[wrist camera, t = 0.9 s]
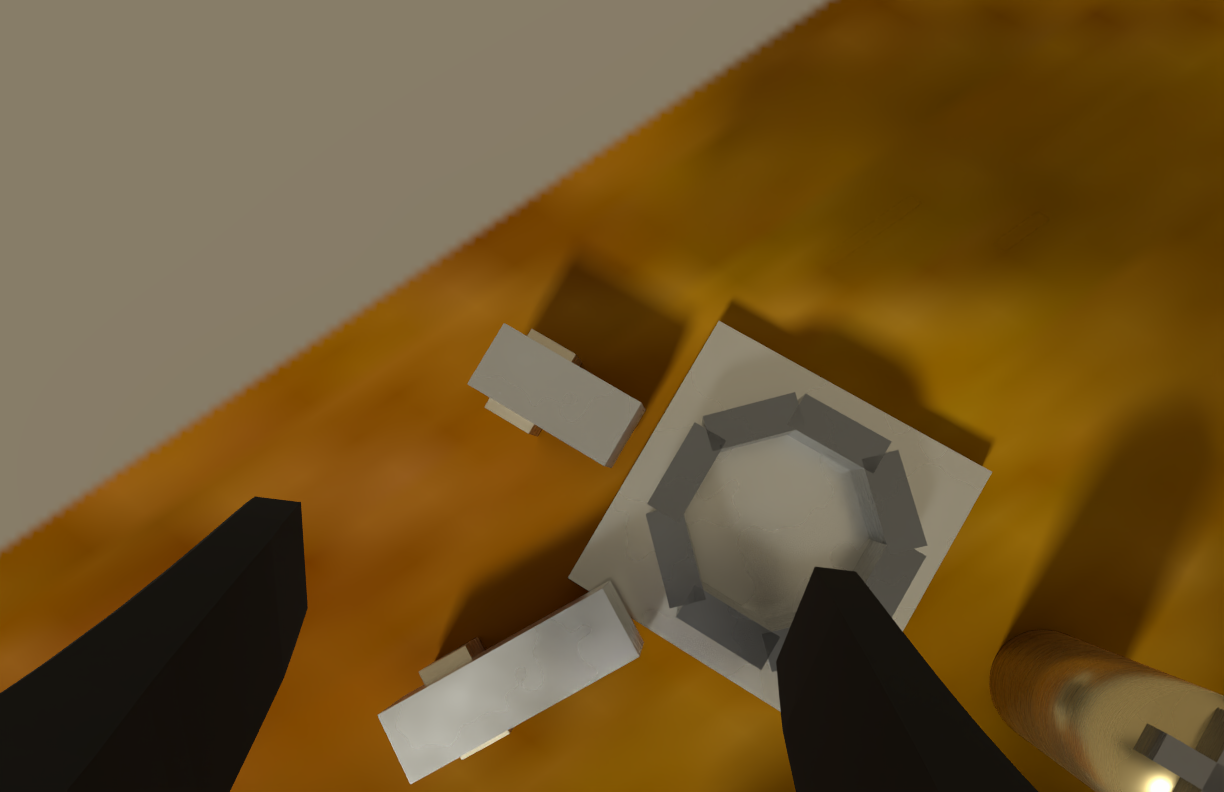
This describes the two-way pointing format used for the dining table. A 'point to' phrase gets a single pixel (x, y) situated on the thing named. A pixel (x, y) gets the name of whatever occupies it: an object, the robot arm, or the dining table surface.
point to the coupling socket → (696, 529)
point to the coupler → (1109, 716)
